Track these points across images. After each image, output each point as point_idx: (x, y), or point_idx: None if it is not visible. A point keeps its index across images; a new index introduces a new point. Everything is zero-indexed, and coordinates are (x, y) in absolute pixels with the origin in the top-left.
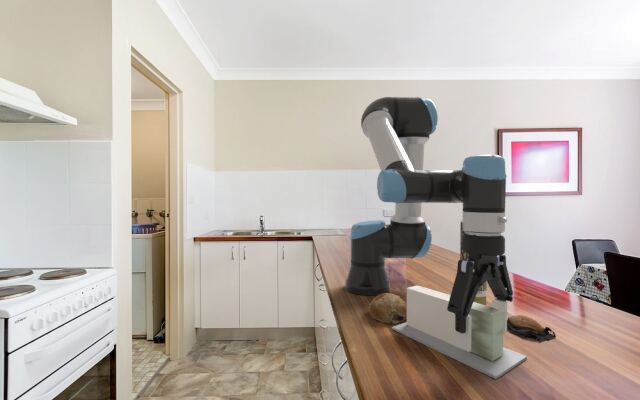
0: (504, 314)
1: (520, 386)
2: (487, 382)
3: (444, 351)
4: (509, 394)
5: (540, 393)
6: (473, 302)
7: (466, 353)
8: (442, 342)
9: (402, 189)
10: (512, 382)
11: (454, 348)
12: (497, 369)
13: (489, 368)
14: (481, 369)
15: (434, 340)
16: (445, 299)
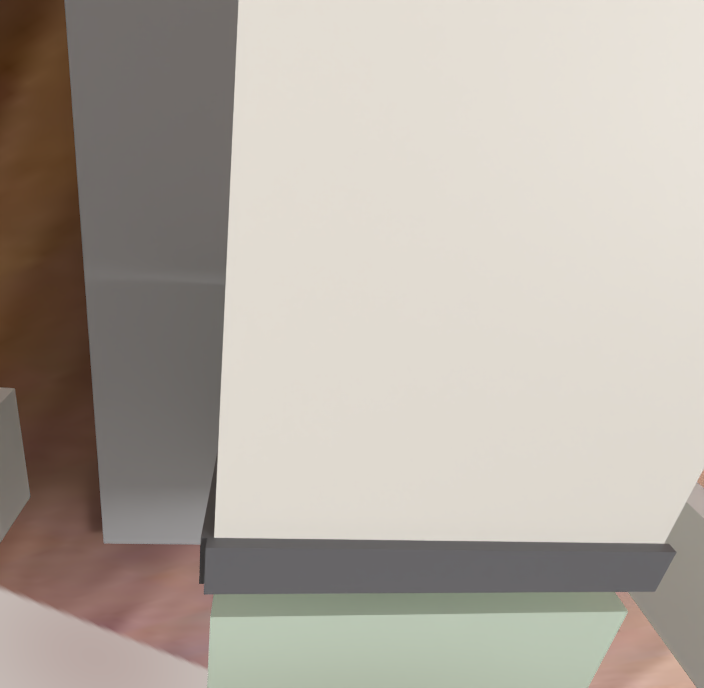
0: (681, 652)
1: (157, 602)
2: (34, 518)
3: (84, 204)
4: (37, 602)
5: (178, 652)
6: (590, 626)
7: (220, 333)
8: (231, 101)
9: None
10: (159, 575)
11: (213, 238)
12: (188, 520)
13: (156, 495)
14: (100, 475)
15: (201, 11)
16: (307, 75)
